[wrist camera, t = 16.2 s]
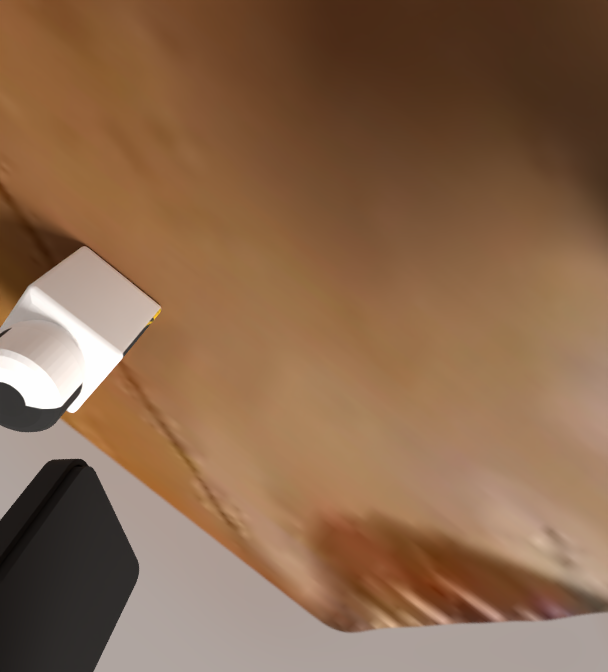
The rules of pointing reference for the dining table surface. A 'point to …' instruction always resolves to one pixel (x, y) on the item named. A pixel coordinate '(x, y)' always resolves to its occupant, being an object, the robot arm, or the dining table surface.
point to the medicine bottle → (67, 339)
